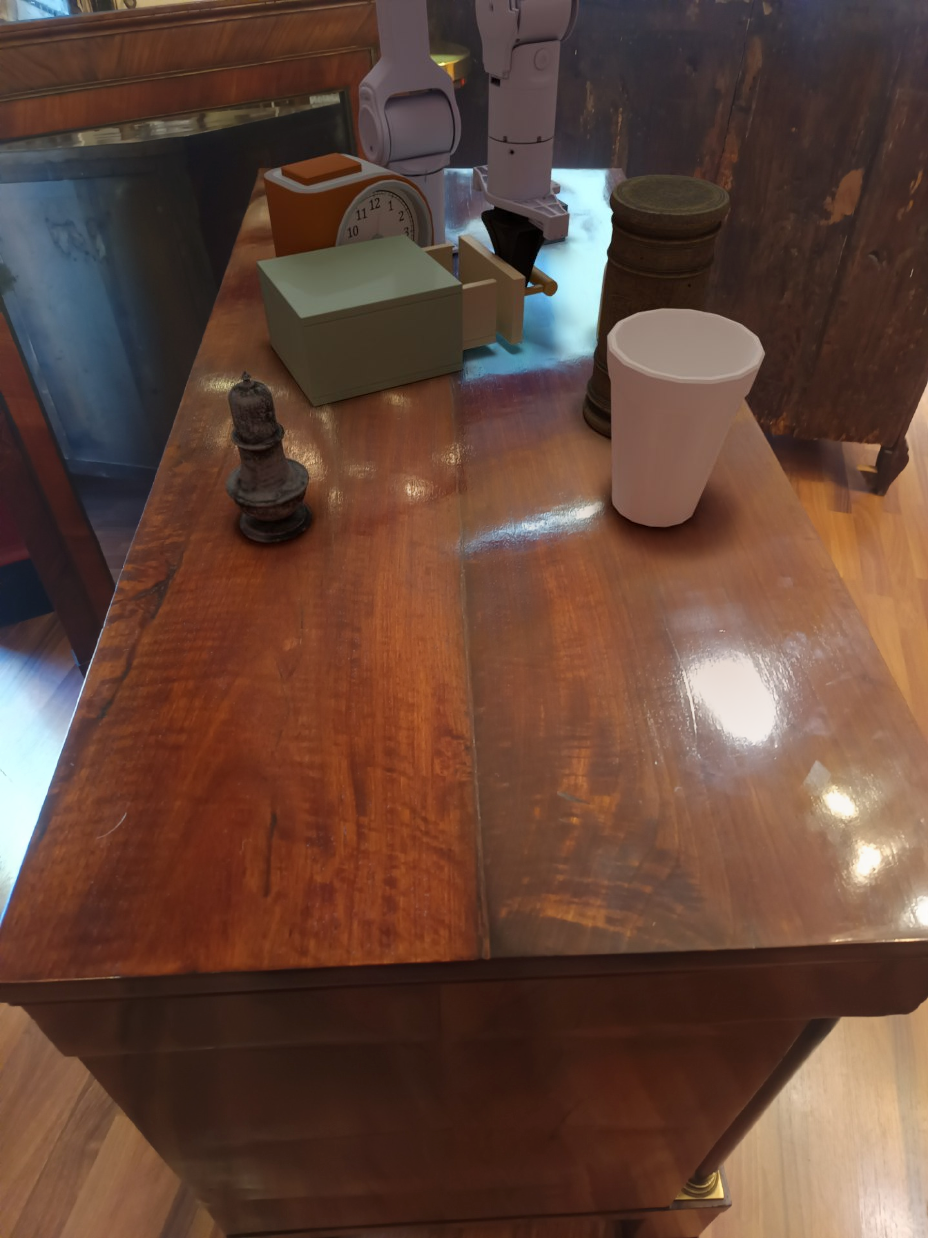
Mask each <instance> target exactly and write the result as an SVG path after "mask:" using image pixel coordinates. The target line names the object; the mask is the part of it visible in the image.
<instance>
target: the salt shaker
mask: <svg viewBox="0 0 928 1238" xmlns="http://www.w3.org/2000/svg"><path fill="white" fill-rule="evenodd" d="M239 378H240V379H241V380H242V381H239V382H237V383H236V384H234V385H232V387H231V388H230V389H229V392H228V394H227V401H228V405H229V409H230V413H231V419H232V422H233V427H234V429H233V430H232V431H231V434H230V439H231V442H232V444H233V445H235V446H237V449H238V453H239V458H240V464H239V465H238V466H237V467H235V468H234V469H233V470H232V471H231V472H230V474H229V475H228V476H227V478H226V481H225V491H226V494H228V496H229V498H230V499H232V500H233V502H234V503H235V505H236V506H237V508H238V509H239V510H240V511H241V512H242V514H241V515H240V518H239V521H238V523H239V528H240V531H241V532H242V534H243V535H244V536H246V537H247V538H248V539H251V540H253V541H256V542H260V543H265V544H266V543H271V544H272V543H273V544H274V543H281V542H286V541H288V540H291V539H294V538H296V537H298V536H299V535H301V534H302V533H304V532H305V531H306V530H308V528H309V526H310V524H311V523H312V518H313V515H312V510H311V508H310V507H309V506H308V504H307V503H306V502H304V500H305V497H306V493H307V487H308V486H309V484H310V483H309V482H310V475H309V470H308V469H307V468H306V466H305V465H303V464H302V463H301V462H300V461H298V460H295V459H293V458H290V457H286V455H285V451H284V446H283V441H282V440H283V439H284V438H285V433H286V432H285V428H284V427H283V425H282V424H280V423H279V422H278V420H277V414H276V409H275V403H274V399H273V395H272V394H273V393H272V392H271V389H270V388H269V386H267V384H265V383H263V382H262V381H258V380H253V379H251V378H252V375H251V374H250V373H249V372H247V371H246V370H244V371H243V372H242V373H241V376H239Z"/></svg>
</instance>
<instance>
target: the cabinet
mask: <svg viewBox="0 0 928 1238" xmlns="http://www.w3.org/2000/svg"><path fill="white" fill-rule="evenodd" d="M255 265H256V268H257V274H258V280H259V281H258V282H259V286H260V292H261V297H262V302H263V307H264V308H263V309H264V313H265V319H266V325H267V330H268V336H269V341H270V346H271V347H272V349H273V351H275V353H276V355H277V356H278V357H279V359H280V360H281V361H282V363H283V365H284V366H285V367H286V370H287V371H288V372H289V373H290V375H291V376H292V377H293V378H294V380H295V382H296V383H297V385H298V386H299V387H300V389H301V390H302V392H303V393H304V395H305V397H306V398H307V399H308V401H309V402H310V403H311V405H312V406H313V407H314V408H315V407H319V406H324V405H326V404H331V403H335V402H339V401H342V400H346V399H347V400H348V399H351V398H355V397H358V396H363V395H367V394H370V393H374V392H378V391H383V390H387V389H391V388H396V387H399V386H403V385H406V384H411V383H415V382H419V381H423V380H427V379H431V378H435V377H440V376H443V375H447V374H452V373H455V372H459V371H463V370H464V350H463V293H462V292H463V284H462V283H461V282H460V281H459V278H457V277H455V276H454V274H453V275H452V274H451V273H449V272H448V271H447V270H446V269H445V268H444V267H442V266H441V265H440V264H439V263H438V262H437V261H435V260H434V259H433V258H432V257H431V256H430V255H428V254H427V253H426V252H425V251H424V250H423V249H421V248H420V247H419V246H418V245H417V244H416V243H414V242H413V241H412V240H411V239H410V238H409V237H407V236H406V235H405V234H401V235H396V236H390V237H385V238H380V239H374V240H369V241H364V242H358V243H353V244H348V245H342V246H337V247H332V248H326V249H321V250H316V251H310V252H305V253H300V254H294V255H289V256H284V257H278V258H276V257H273V258H268V259H267V258H266V259H263V260H257V261H256V264H255Z"/></svg>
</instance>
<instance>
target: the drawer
mask: <svg viewBox="0 0 928 1238" xmlns="http://www.w3.org/2000/svg"><path fill="white" fill-rule="evenodd" d="M457 241H458V245H457V247H458V254H457V255H458V257H457V259H458V280H459V281H460V282H461V283H462V284H463V292H462V293H463V351H466V350H470V349H473V348H478V347H483V346H487V345H490V344H495V343H496V342H497V334H498V335H499V336H500V337H502V338H503V340H505V341H506V342H507V343H508V344H509V345H511V346H515V345H519V344H522V343H523V331H524V313H525V297H528V296H533V295H538V294H541V293H542V294H543V295H545V296H547V297H553V296H554V295H556V293H557V292H558V290H559V289H558V288H559V284H558V282H557V281H556V280H555V279H554V278H552V277H550V276H549V275H548V274H547V273H545V272H544V271H542V269H540V268H538V267H537V266H535V265H534V266H533V270H532V273H531V276H530V280H529V283H528V284H531V286H527V287H526V288H525V276H523V275H522V274H521V273H519V272H518V271H517V270H515V269H514V268H513V267H512V266H510V265H509V264H508V263H506V262H505V261H504V260H502V259H501V258H500V257H498V256H497V255H496V254H495V253H494V251H492V250H491V249H490V248H488V247H487V246H485V245H484V244H483V243H482V242H481V241H479V240H477V239H476V237H474V236H472V235H471V234H470V233H467V234H462V235H458V238H457ZM421 249H423V250H424V251H425V252H426V253H427V254H428V255H430V256H431V257H432V258H433V259H434V260H435V261H437V262H438V263H439V264H440V265H441V266H442V267H444V268H445V269H446V270H447V271H448V272H449V273H451V274H452V275H453V276H454V258H453V257H454V253H453V246H452V245H451V244H450V243H445V244H440V245H435V246H430V247H425V248H421Z"/></svg>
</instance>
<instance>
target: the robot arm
mask: <svg viewBox="0 0 928 1238" xmlns="http://www.w3.org/2000/svg"><path fill="white" fill-rule="evenodd" d="M374 1H375V10H376V20H377V29H378V38H379V49H380V58H379V60H378V61H377V63H376V64H375V65H374V66H373V67H372V69H371V70H370V71H369V72H368V73H367V74H366V76H364V78H363V79H362V81H360V83H359V85H358V103H359V105H358V106H359V107H358V108H359V111H358V119H357V125H358V136H359V141H360V145H361V148H362V151H363V153H364V155H365V157H366V159H367V160H368V162H370V163H373V164H375V165H378V166H380V167H383V168H385V169H388V170H390V171H393V172H395V173H398V174H400V175H403V176H405V177H407V178H408V179H410V180H411V181H412V182H414V183H415V184H416V185H417V186H418V187H419V189H420V190H421V191H422V193H423V194H424V196H425V197H426V199H427V202H428V204H429V207H430V210H431V213H432V220H433V228H434V246H435V245H440V244H445V243H450V244H451V245H452V246H453V254H457V253H458V245H456V244H455V243H454V242H452V241H451V240H450V239H449V238H447V237H446V202H445V200H446V199H445V198H446V195H445V193H446V192H445V166H448V165H450V164H451V156H452V155H454V153H455V152H456V151H457V148H458V146H459V143H460V140H461V136H462V135H461V134H462V121H461V120H462V119H461V115H460V109H459V106H458V104H457V100H456V94H455V88H454V87H455V86H454V79H453V77H452V75H451V74H449V72H448V71H447V70H446V69H444V68H443V67H442V66H441V65H440V64H438V63H437V62H436V61H435V60H434V59H433V58H432V57H431V49H430V35H429V21H428V7H427V0H374ZM474 3H475V5H474V6H475V17H476V23H477V24H476V25H477V28H478V31H479V35H480V39H481V44H482V63H483V68H484V71H485V73H487V74H488V109H487V110H488V113H487V116H488V117H487V118H488V119H487V164H485V165H484V164H483V165H479V166H478V165H477V166H473V167H472V189H473V190H474V191H475V192H482V194H483V197H484V199H485V201H486V202H487V203H488V204H489V205H491V206H493V208H492V209H487V210H483V211H482V212H481V213H480V220H481V222H482V224H483V226H484V228H485V230H486V231H487V234H488V237H489V239H490V242H491V245H492V249H493V253H494V254H496V255H497V256H498V257H500V258H501V259H502V260H504V261H505V262H506V263H508V264H509V265H510V266H512V267H513V268H514V269H515V270H517V271H518V272H519V273H521V274H522V275H523V276H525V288H526V287H529V284H530V283H529V280H530V276H531V273H532V270H533V266H535V263H536V261H537V259H538V258H537V257H538V255H539V253H540V250H541V248H542V246H544V245H543V243H544V241H545V239H547V240H552V239H558V238H562V237H565V238H567V237H569V228H570V216H571V214H570V213H569V211H568V212H567V211H565V210H564V209H563V208H562V206H561V204H560V202H559V201H558V199H559V198H558V197H557V195H559V194H561V186H562V185H561V184H560V183H558V182H557V181H555V180H553V179H552V171H553V169H552V168H553V155H554V140H555V129H556V127H555V126H556V113H557V99H558V84H559V72H560V71H559V69H560V55H561V44H562V43H564V42H565V41H567V40H568V39H569V38H570V36H571V35H572V33H573V31H574V28H575V26H576V23H577V19H578V14H579V5H580V0H475V2H474ZM423 90H426V91H425V92H417V93H410V94H404V95H403V93H408V92H416V91H423ZM401 93H402V95H396V94H401ZM393 95H396V96H393Z"/></svg>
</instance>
